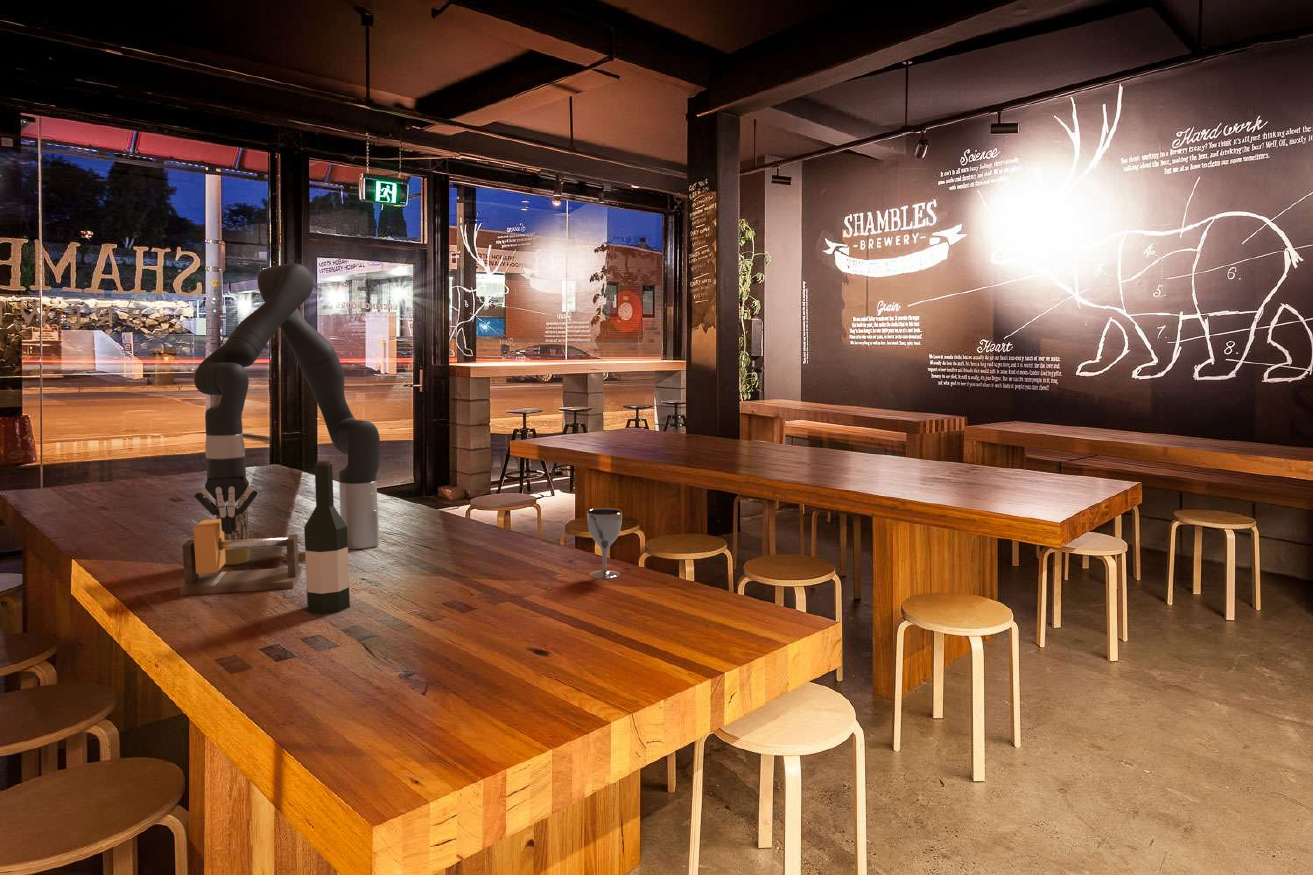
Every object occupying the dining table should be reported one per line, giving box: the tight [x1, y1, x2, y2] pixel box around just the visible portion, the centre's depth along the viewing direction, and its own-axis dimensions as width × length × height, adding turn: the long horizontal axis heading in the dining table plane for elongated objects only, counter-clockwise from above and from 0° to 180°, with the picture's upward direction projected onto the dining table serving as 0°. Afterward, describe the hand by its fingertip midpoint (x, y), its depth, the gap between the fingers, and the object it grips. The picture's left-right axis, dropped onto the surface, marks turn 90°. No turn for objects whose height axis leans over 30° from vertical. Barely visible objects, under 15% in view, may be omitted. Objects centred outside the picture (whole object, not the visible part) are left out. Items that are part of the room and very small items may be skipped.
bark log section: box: [214, 491, 251, 566], centre depth 198 cm, size 7×7×25 cm
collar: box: [193, 518, 226, 574], centre depth 179 cm, size 4×8×10 cm, turn 15°
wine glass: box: [586, 507, 623, 580], centre depth 191 cm, size 8×8×15 cm
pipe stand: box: [179, 534, 302, 596], centre depth 181 cm, size 22×12×10 cm, turn 105°
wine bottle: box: [303, 459, 351, 615], centre depth 164 cm, size 8×8×30 cm
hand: (229, 533), depth 180 cm, fingers closed
